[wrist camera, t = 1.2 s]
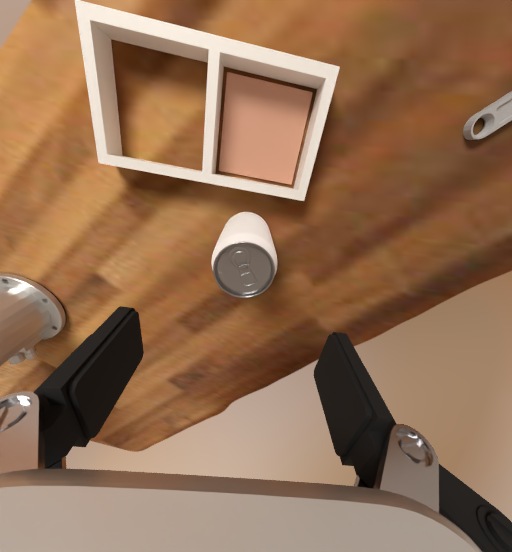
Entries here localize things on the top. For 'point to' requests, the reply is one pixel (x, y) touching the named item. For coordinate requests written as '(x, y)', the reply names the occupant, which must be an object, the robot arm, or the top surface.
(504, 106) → the adjustable wrench
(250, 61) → the caddy
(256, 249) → the can
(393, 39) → the top surface
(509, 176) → the top surface
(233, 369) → the top surface
